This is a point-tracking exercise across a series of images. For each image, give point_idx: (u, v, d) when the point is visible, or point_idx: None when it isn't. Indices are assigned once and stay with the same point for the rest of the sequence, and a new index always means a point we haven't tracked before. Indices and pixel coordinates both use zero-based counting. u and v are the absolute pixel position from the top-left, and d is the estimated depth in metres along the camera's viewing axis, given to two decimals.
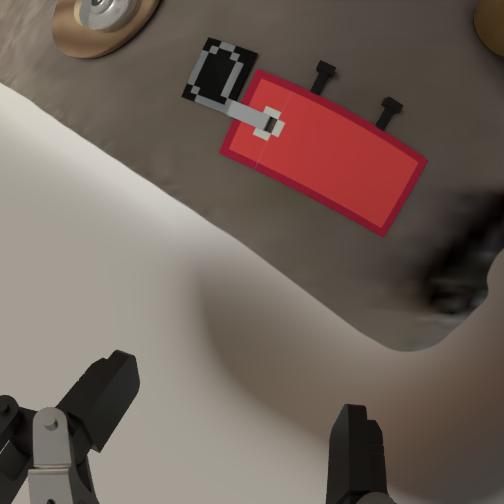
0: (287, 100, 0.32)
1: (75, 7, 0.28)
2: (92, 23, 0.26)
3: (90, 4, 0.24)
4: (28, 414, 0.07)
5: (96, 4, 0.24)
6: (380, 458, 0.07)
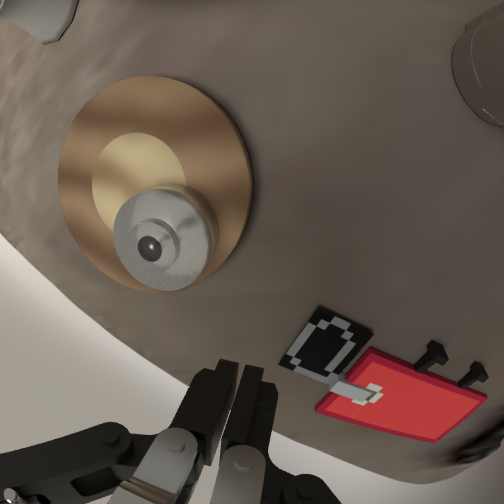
0: (391, 378, 0.29)
1: (94, 191, 0.26)
2: (147, 278, 0.24)
3: (136, 252, 0.22)
4: (138, 439, 0.07)
5: (150, 259, 0.22)
6: (269, 418, 0.09)
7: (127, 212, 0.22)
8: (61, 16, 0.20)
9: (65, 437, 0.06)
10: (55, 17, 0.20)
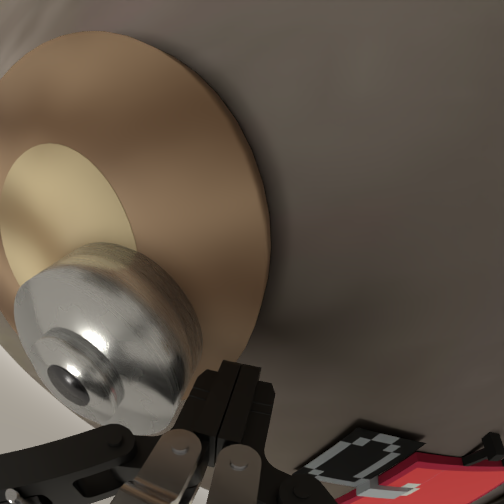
0: (434, 476, 0.17)
1: (5, 243, 0.13)
2: None
3: (51, 382, 0.09)
4: (142, 441, 0.07)
5: (74, 400, 0.09)
6: (265, 418, 0.09)
7: (26, 308, 0.09)
8: None
9: (68, 438, 0.06)
10: None
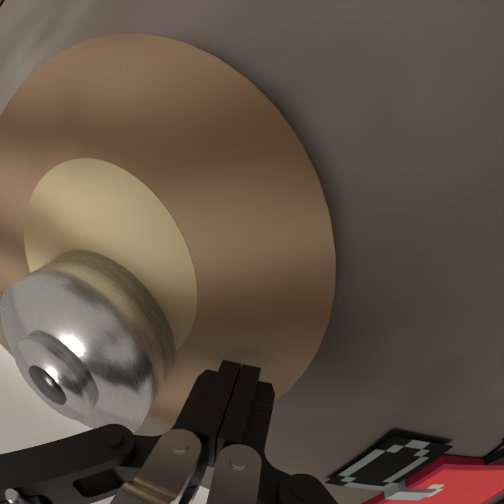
0: (457, 476, 0.17)
1: (31, 264, 0.13)
2: None
3: (34, 384, 0.10)
4: (141, 441, 0.07)
5: (54, 400, 0.09)
6: (265, 418, 0.09)
7: (9, 315, 0.10)
8: None
9: (68, 438, 0.06)
10: None
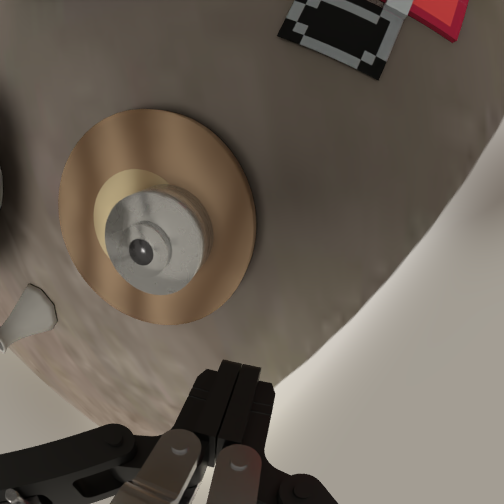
0: None
1: None
2: (188, 262, 0.21)
3: (148, 267, 0.21)
4: (141, 441, 0.07)
5: (150, 252, 0.20)
6: (265, 418, 0.09)
7: (128, 274, 0.23)
8: (33, 296, 0.34)
9: (68, 438, 0.06)
10: (31, 301, 0.33)
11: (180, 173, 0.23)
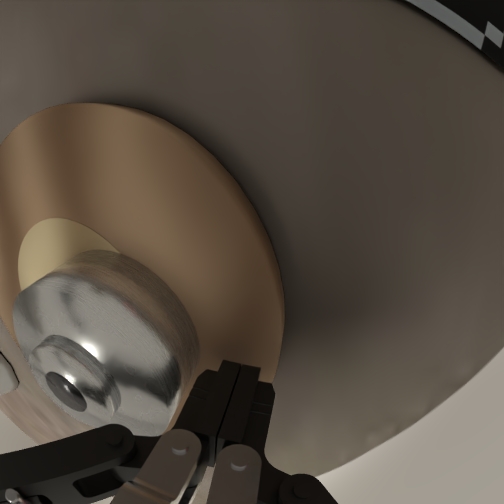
0: None
1: None
2: (152, 414, 0.10)
3: (84, 414, 0.09)
4: (141, 441, 0.07)
5: (79, 399, 0.09)
6: (265, 418, 0.09)
7: None
8: None
9: (68, 438, 0.06)
10: None
11: (136, 232, 0.11)
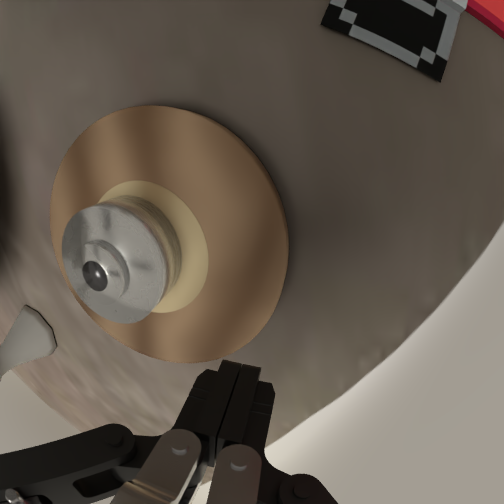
0: None
1: None
2: (148, 289, 0.17)
3: (104, 293, 0.17)
4: (142, 441, 0.07)
5: (104, 277, 0.17)
6: (265, 418, 0.09)
7: (88, 298, 0.19)
8: (29, 320, 0.30)
9: (68, 438, 0.06)
10: (27, 325, 0.29)
11: (195, 186, 0.18)
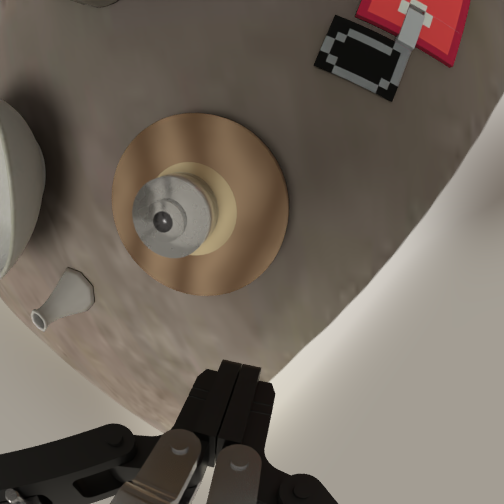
0: None
1: None
2: (199, 230, 0.28)
3: (168, 234, 0.28)
4: (142, 441, 0.07)
5: (170, 222, 0.27)
6: (265, 418, 0.09)
7: (150, 241, 0.29)
8: (73, 278, 0.40)
9: (68, 438, 0.06)
10: (71, 282, 0.39)
11: (230, 166, 0.29)
